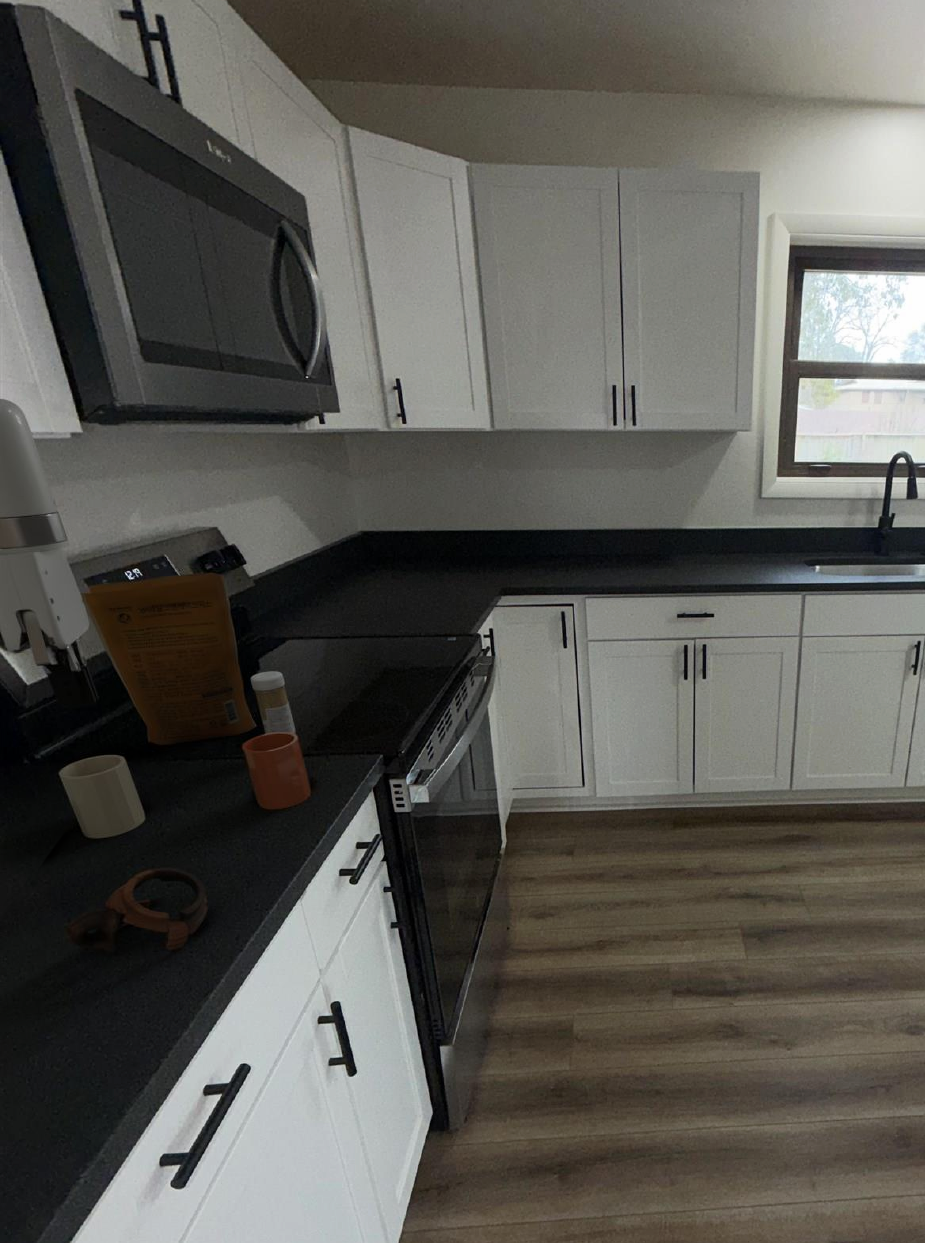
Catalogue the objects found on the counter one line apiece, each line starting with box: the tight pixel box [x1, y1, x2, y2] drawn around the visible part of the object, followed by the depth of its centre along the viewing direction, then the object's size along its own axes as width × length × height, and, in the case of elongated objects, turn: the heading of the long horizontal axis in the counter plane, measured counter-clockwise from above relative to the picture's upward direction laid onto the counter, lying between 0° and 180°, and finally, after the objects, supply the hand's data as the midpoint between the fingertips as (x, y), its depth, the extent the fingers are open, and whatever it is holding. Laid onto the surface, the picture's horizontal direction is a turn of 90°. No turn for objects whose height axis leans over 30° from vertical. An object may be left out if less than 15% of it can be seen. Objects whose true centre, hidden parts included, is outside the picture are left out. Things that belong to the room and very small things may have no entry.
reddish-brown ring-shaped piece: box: [65, 867, 209, 954], centre depth 77 cm, size 12×10×8 cm
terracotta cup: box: [241, 732, 312, 810], centre depth 105 cm, size 7×7×9 cm
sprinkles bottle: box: [250, 670, 297, 735], centre depth 119 cm, size 5×5×14 cm
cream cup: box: [58, 754, 146, 839], centre depth 98 cm, size 7×7×9 cm
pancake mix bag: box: [80, 572, 257, 746], centre depth 121 cm, size 7×19×28 cm, turn 113°
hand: (80, 704), depth 81 cm, fingers closed
